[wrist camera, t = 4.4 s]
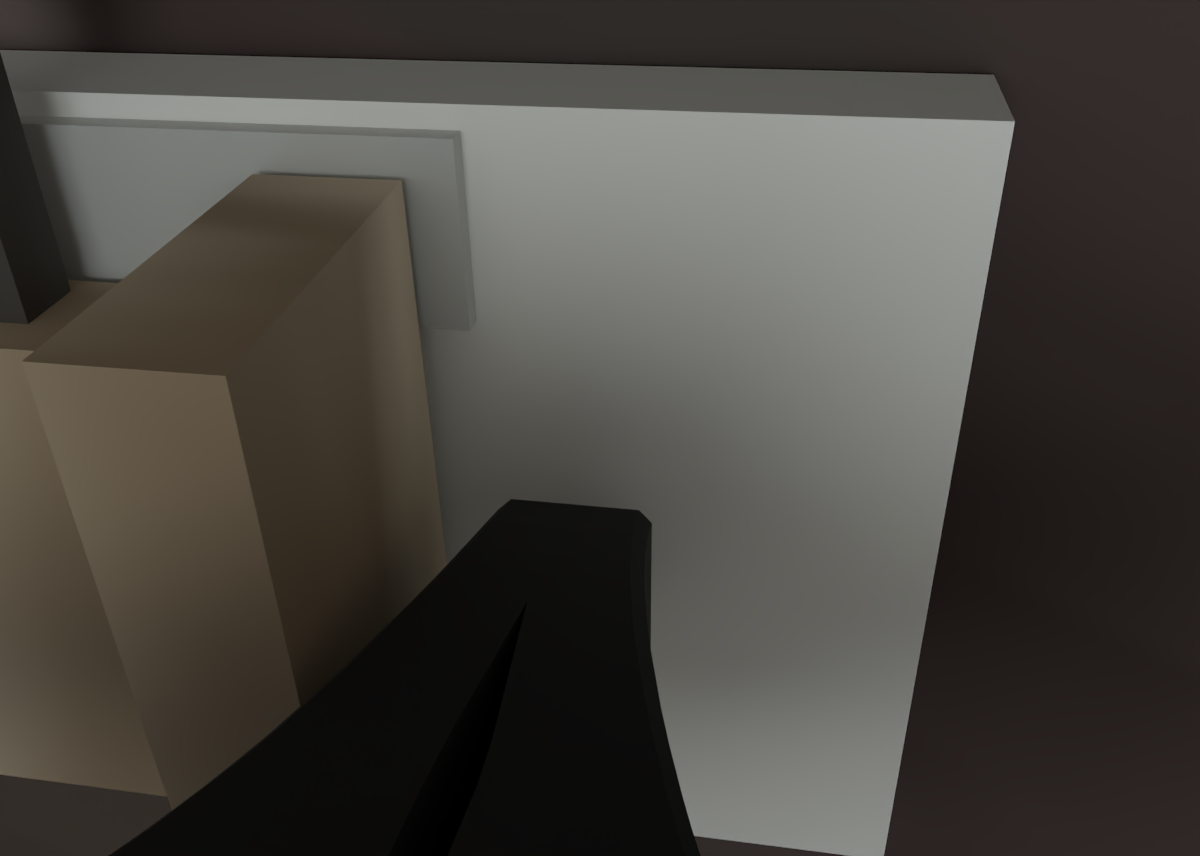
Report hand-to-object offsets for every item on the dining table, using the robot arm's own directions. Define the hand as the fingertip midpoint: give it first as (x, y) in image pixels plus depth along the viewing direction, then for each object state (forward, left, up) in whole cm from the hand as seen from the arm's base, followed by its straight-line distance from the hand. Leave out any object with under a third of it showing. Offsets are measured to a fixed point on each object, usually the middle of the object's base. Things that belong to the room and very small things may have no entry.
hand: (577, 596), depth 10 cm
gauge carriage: (-4, +1, 0) cm, 4 cm away
